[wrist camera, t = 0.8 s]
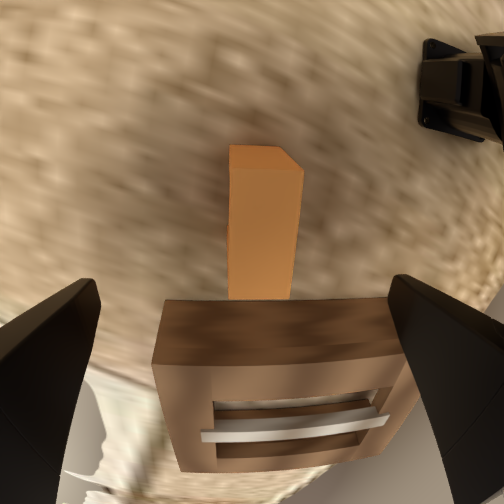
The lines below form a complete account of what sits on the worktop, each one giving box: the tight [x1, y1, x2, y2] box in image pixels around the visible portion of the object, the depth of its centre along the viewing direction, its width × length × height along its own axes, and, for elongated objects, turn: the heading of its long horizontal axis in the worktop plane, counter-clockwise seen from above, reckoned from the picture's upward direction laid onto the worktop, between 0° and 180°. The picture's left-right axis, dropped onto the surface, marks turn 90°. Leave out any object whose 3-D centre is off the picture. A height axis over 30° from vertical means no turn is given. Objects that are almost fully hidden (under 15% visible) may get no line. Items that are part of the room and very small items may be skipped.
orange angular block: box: [227, 145, 304, 299], centre depth 17 cm, size 3×6×6 cm, turn 177°
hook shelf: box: [151, 297, 420, 473], centre depth 25 cm, size 20×16×7 cm
